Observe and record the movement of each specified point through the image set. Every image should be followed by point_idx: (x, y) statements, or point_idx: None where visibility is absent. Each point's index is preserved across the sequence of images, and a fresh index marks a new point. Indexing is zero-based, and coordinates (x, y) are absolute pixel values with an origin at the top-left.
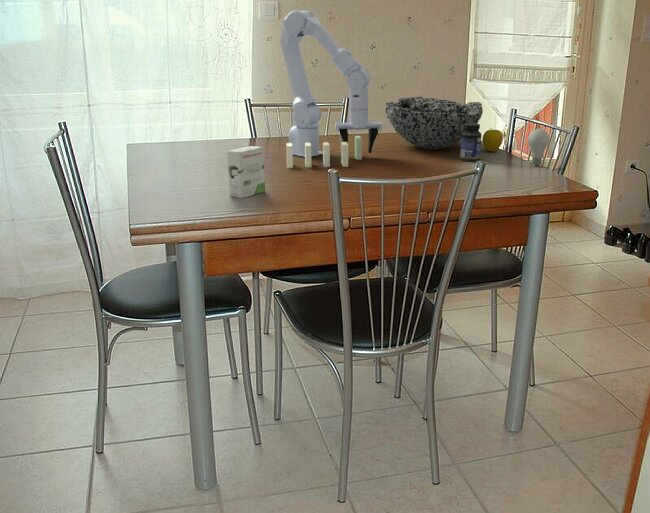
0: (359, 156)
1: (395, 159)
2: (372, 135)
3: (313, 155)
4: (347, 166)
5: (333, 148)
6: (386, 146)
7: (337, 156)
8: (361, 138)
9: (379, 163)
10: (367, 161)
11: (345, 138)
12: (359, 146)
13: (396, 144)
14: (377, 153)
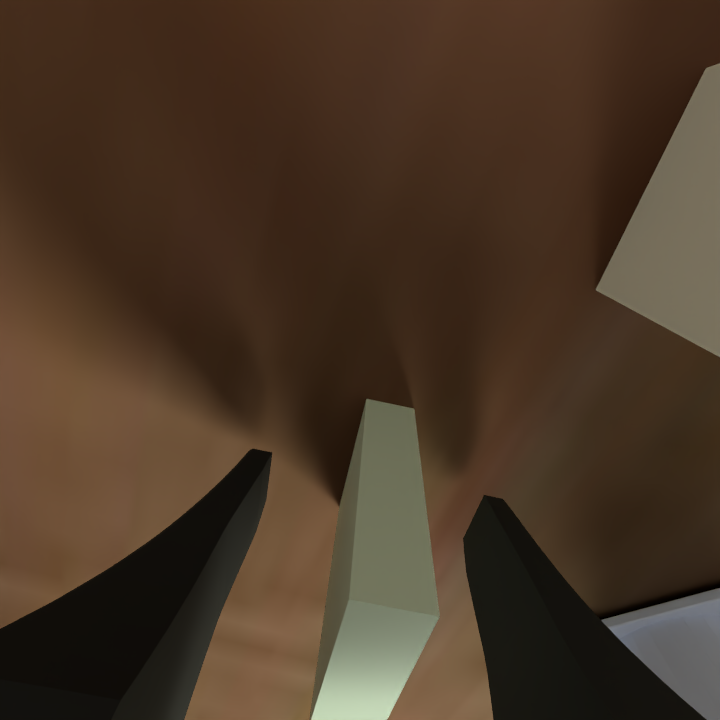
0: (389, 419)
1: (37, 294)
2: (126, 626)
3: (702, 599)
4: (715, 71)
5: (420, 709)
6: None
7: None
8: (351, 613)
9: (240, 137)
10: (344, 295)
11: (621, 672)
12: (390, 499)
13: None
14: None
